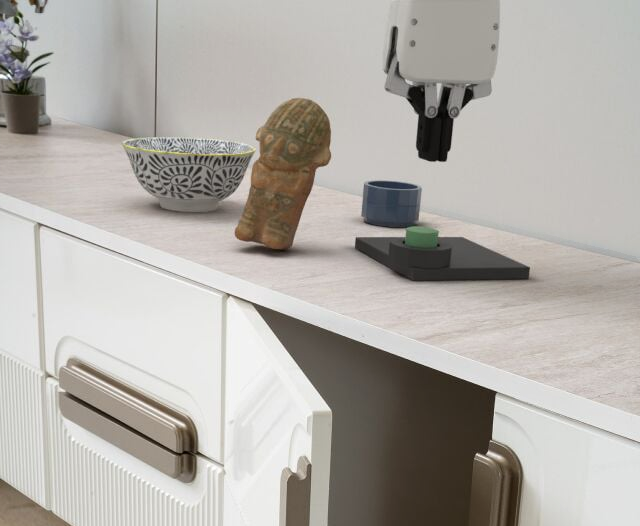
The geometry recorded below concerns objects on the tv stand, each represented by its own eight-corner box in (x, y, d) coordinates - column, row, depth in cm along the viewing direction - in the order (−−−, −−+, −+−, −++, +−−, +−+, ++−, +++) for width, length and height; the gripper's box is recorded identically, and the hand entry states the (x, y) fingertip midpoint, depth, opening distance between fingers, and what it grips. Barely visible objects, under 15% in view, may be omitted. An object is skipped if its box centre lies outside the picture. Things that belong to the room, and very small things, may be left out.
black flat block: (461, 247, 126) (464, 220, 125) (529, 279, 114) (533, 249, 112) (345, 248, 121) (347, 220, 120) (402, 281, 109) (405, 250, 107)
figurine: (230, 251, 116) (236, 98, 110) (257, 238, 123) (264, 93, 117) (308, 261, 114) (318, 106, 108) (331, 247, 121) (341, 101, 115)
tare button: (428, 243, 113) (430, 226, 113) (442, 250, 110) (444, 232, 110) (399, 244, 112) (401, 226, 111) (412, 250, 109) (414, 232, 109)
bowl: (98, 208, 133) (97, 142, 130) (156, 191, 147) (157, 131, 144) (223, 225, 128) (226, 157, 126) (271, 206, 142) (274, 145, 140)
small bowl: (403, 217, 142) (407, 180, 140) (427, 228, 136) (431, 190, 134) (352, 216, 140) (355, 179, 138) (374, 228, 134) (377, 189, 132)
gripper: (504, -44, 107) (481, 155, 114) (359, -55, 102) (346, 153, 109) (545, -45, 101) (519, 166, 108) (393, -57, 96) (376, 165, 103)
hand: (432, 159), depth 109 cm, fingers closed
